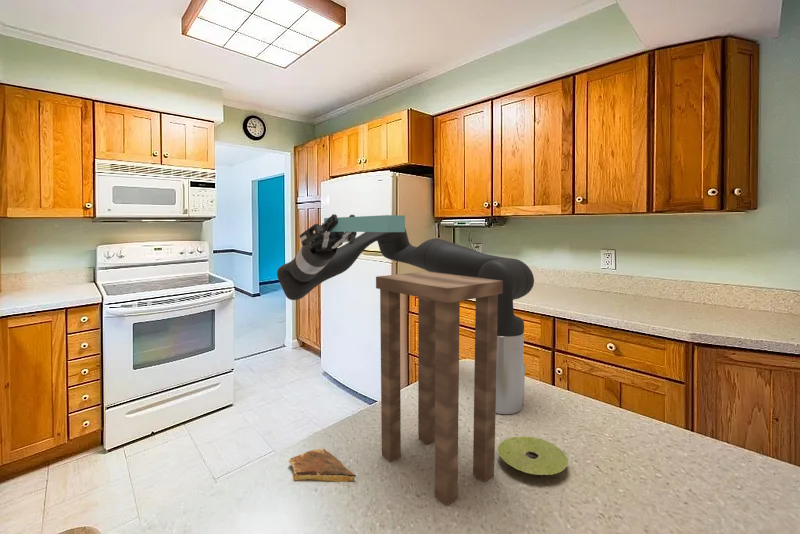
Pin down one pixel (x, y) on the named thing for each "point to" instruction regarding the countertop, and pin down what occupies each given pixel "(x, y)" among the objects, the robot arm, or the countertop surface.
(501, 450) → the green flat disc
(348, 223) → the teal block
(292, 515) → the countertop surface
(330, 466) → the brown flat wedge
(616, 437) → the countertop surface
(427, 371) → the walnut stand
